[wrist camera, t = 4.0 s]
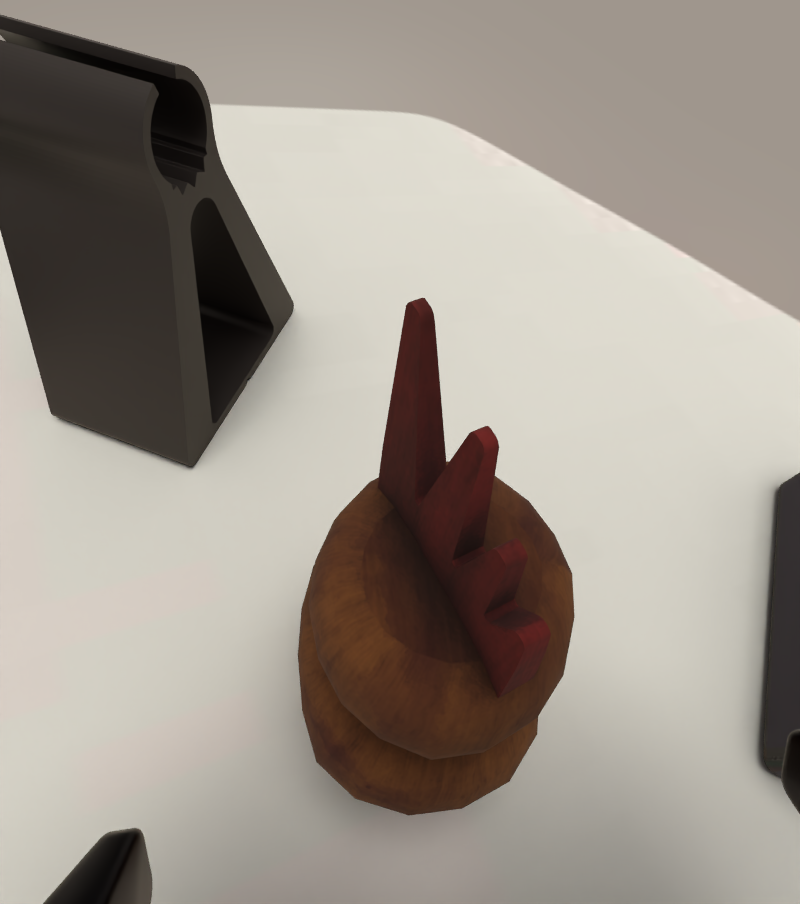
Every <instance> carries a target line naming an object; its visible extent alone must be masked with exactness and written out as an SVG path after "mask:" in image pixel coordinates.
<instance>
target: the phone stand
mask: <svg viewBox="0 0 800 904" xmlns="http://www.w3.org/2000/svg"><path fill="white" fill-rule="evenodd" d="M0 35H1V36H2V37H3V38H4V39H5V40H6V41H2V40H0V230H1V234H2V237H3V241H4V245H5V248H6V252H7V256H8V259H9V263H10V266H11V270H12V274H13V277H14V281H15V285H16V288H17V292H18V295H19V299H20V303H21V306H22V310H23V314H24V317H25V321H26V325H27V328H28V332H29V335H30V339H31V343H32V346H33V350H34V354H35V357H36V361H37V364H38V368H39V372H40V375H41V379H42V383H43V386H44V390H45V393H46V397H47V401H48V404H49V408H50V412H51V414H52V415H54V416H57V417H59V418H62V419H65V420H67V421H70V422H73V423H75V424H78V425H81V426H84V427H86V428H89V429H92V430H94V431H97V432H100V433H102V434H105V435H108V436H110V437H113V438H116V439H119V440H121V441H124V442H127V443H129V444H132V445H135V446H137V447H140V448H143V449H145V450H148V451H151V452H153V453H156V454H159V455H162V456H164V457H167V458H170V459H172V460H175V461H178V462H180V463H183V464H186V465H188V466H194V465H195V464H196V462H197V461H198V459H199V458H200V456H201V455H202V453H203V451H204V450H205V448H206V447H207V445H208V444H209V442H210V440H211V439H212V437H213V436H214V434H215V433H216V431H217V430H218V428H219V426H220V425H221V423H222V422H223V420H224V419H225V417H226V415H227V414H228V412H229V411H230V409H231V408H232V406H233V405H234V403H235V401H236V400H237V398H238V397H239V395H240V394H241V392H242V390H243V389H244V387H245V386H246V385H245V384H246V380H247V379H250V378H251V376H252V375H253V373H254V372H255V370H256V369H257V367H258V365H259V364H260V362H261V361H262V359H263V358H264V356H265V355H266V353H267V351H268V350H269V348H270V347H271V345H272V344H273V342H274V340H275V339H276V337H277V336H278V334H279V333H280V331H281V330H282V328H283V326H284V325H285V323H286V322H287V320H288V319H289V317H290V315H291V314H292V311H293V306H294V304H293V301H292V299H291V297H290V295H289V293H288V291H287V289H286V287H285V285H284V284H283V282H282V280H281V278H280V276H279V274H278V272H277V270H276V268H275V266H274V264H273V262H272V260H271V259H270V257H269V255H268V253H267V251H266V249H265V247H264V245H263V243H262V241H261V239H260V237H259V235H258V233H257V232H256V230H255V228H254V226H253V224H252V222H251V220H250V218H249V216H248V214H247V212H246V210H245V208H244V206H243V205H242V203H241V201H240V199H239V197H238V195H237V193H236V191H235V189H234V187H233V185H232V183H231V181H230V180H229V178H228V176H227V174H226V172H225V170H224V167H223V165H222V162H221V160H220V157H219V153H218V150H217V146H216V141H215V136H214V130H213V123H212V114H211V108H210V103H209V100H208V96H207V93H206V91H205V88H204V86H203V84H202V82H201V81H200V79H199V78H198V76H197V75H196V74H195V73H194V72H193V71H192V70H191V69H189V68H188V67H185V66H182V65H179V64H175V63H172V62H168V61H165V60H161V59H157V58H153V57H150V56H147V55H143V54H140V53H136V52H132V51H129V50H125V49H122V48H118V47H114V46H111V45H107V44H104V43H100V42H96V41H93V40H89V39H86V38H82V37H79V36H75V35H72V34H68V33H64V32H61V31H57V30H53V29H50V28H47V27H42V26H39V25H35V24H32V23H29V22H25V21H22V20H18V19H14V18H11V17H7V16H4V15H0Z"/></svg>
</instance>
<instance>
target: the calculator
mask: <svg viewBox="0 0 800 904" xmlns="http://www.w3.org/2000/svg"><path fill="white" fill-rule="evenodd" d="M797 729H800V473H798V474H797V475H795V476H794V477H792V478H791V479H789V480H787V481H786V482H784V483H783V484H781V486H780V489H779V500H778V516H777V533H776V550H775V566H774V583H773V599H772V616H771V632H770V649H769V665H768V682H767V699H766V715H765V732H764V748H763V753H764V761H765V763H766V765H767V767H768V768H769V770H770V771H771V772H773V773H774V774H775V775H777V776H779V777H781V772H782V767H783V761H784V755H785V749H786V743H787V738H788V735H789V734H790V733H791V732H792V731H794V730H797Z"/></svg>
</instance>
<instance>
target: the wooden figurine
mask: <svg viewBox="0 0 800 904" xmlns="http://www.w3.org/2000/svg"><path fill="white" fill-rule="evenodd" d="M498 450H499V444H498V440H497V438H496V436H495V434H494V433H493V431H492V430H491V428H490V427H488V426H485V427H483V428H480V429H478V430H475V431H473V432H471V433H469V435H468V436H467V438H466V439H465V441H464V442H463V443H462V445H461V446H460V448H459V449H458V451H457V452H456V453H455V455H454V456H453V458H452V459H451V461H450V462H446V455H445V442H444V430H443V418H442V406H441V393H440V381H439V369H438V356H437V344H436V332H435V320H434V314H433V311H432V308H431V307H430V305H429V304H428V302H427V301H426V299H425V298H420V299H417V300H414V301H411V302H409V303H408V304H407V305H406V310H405V316H404V322H403V328H402V334H401V340H400V346H399V352H398V358H397V364H396V370H395V376H394V382H393V388H392V394H391V401H390V407H389V413H388V419H387V425H386V431H385V437H384V443H383V450H382V457H381V465H380V473H379V478H377V479H375V480H373V481H371V482H369V484H368V485H367V486H366V487H365V488H364V489H363V490H362V491H361V492H360V493H359V494H358V495H357V496H356V497H355V498H354V499H353V500H352V501H351V502H350V503H349V504H348V505H347V506H346V507H345V508H344V509H343V511H342V512H341V513H340V514H339V515H338V516H337V518H336V519H335V520H334V522H333V524H332V526H331V529H330V531H329V533H328V535H327V537H326V539H325V541H324V544H323V546H322V548H321V550H320V552H319V554H318V556H317V559H316V561H315V565H314V567H313V570H312V574H311V577H310V581H309V585H308V588H307V592H306V595H305V599H304V602H303V606H302V611H301V624H300V637H299V650H298V661H299V674H300V686H301V699H302V711H303V714H304V718H305V722H306V725H307V729H308V733H309V736H310V740H311V744H312V747H313V751H314V755H315V758H316V762H317V763H318V764H319V765H320V766H322V767H323V768H324V769H325V770H326V771H327V772H328V773H329V774H330V775H331V776H332V777H333V778H334V779H335V780H336V781H337V782H338V783H339V784H340V785H342V786H343V787H344V788H345V789H346V790H347V791H348V792H349V793H350V794H351V795H352V796H353V797H354V798H355V799H358V800H362V801H365V802H368V803H371V804H374V805H378V806H381V807H384V808H387V809H390V810H394V811H397V812H400V813H403V814H406V815H415V814H423V813H431V812H438V811H446V810H454V809H462V808H464V807H465V806H467V805H469V804H471V803H472V802H474V801H476V800H478V799H479V798H481V797H483V796H485V795H486V794H488V793H490V792H492V791H493V790H495V789H497V788H499V787H500V786H502V785H504V784H506V783H507V782H509V781H510V779H511V778H512V776H513V774H514V773H515V771H516V769H517V767H518V766H519V764H520V762H521V761H522V759H523V757H524V756H525V754H526V752H527V750H528V749H529V747H530V745H531V744H532V742H533V740H534V738H535V737H536V735H537V724H538V715H539V714H540V712H541V710H542V709H543V707H544V706H545V704H546V702H547V701H548V699H549V697H550V696H551V694H552V693H553V691H554V689H555V688H556V686H557V684H558V683H559V681H560V679H561V678H562V676H563V674H564V669H565V664H566V658H567V653H568V648H569V643H570V638H571V632H572V627H573V621H574V601H573V583H572V572H571V570H570V568H569V566H568V564H567V561H566V559H565V557H564V555H563V553H562V550H561V548H560V546H559V544H558V541H557V539H556V537H555V535H554V533H553V532H552V531H551V530H550V528H549V527H548V526H547V524H546V523H545V522H544V520H543V519H542V518H541V516H540V515H539V514H538V513H537V511H536V510H535V509H534V507H533V506H532V505H531V503H530V502H529V501H528V500H527V499H525V498H524V497H523V496H521V495H520V494H519V493H517V492H516V491H515V490H513V489H512V488H511V487H509V486H508V485H507V484H505V483H504V482H503V481H501V480H500V479H499V478H497V477H496V476H494V475H495V469H496V463H497V456H498Z"/></svg>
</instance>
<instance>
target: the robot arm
mask: <svg viewBox="0 0 800 904" xmlns="http://www.w3.org/2000/svg"><path fill="white" fill-rule="evenodd" d="M781 778H782V783H783V786H784V789H785V791H786V793H787V795H788V797H789V798H790V800H791V801H792V803H793V804H794V806H795V807H796V809H797V811H798V812H799V814H800V729H797V730H794V731H792V732H791V733H790V734H789V735H788V738H787V743H786V749H785V755H784V761H783V767H782V772H781ZM151 897H152V874H151V869H150V864H149V859H148V854H147V849H146V845H145V840H144V836H143V833H142V832H141V830H140V829H137V828H132V829H126V830H119V831H112V832H109V833H107V834H105V835H104V836H103V837H101V838H100V839H99V840H98V842H97V843H96V844H95V845H94V846H93V847H92V848H91V850H90V851H89V852H88V853H87V854H86V855H85V856H84V858H83V859H82V860H81V861H80V862H79V863H78V864H77V866H76V867H75V868H74V869H73V870H72V871H71V872H70V874H69V875H68V876H67V877H66V878H65V879H64V880H63V882H62V883H61V884H60V885H59V886H58V887H57V888H56V890H55V891H54V892H53V893H52V894H51V895H50V896H49V898H48V899H47V900H46V901H45V902H44V903H43V904H150V903H151Z"/></svg>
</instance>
